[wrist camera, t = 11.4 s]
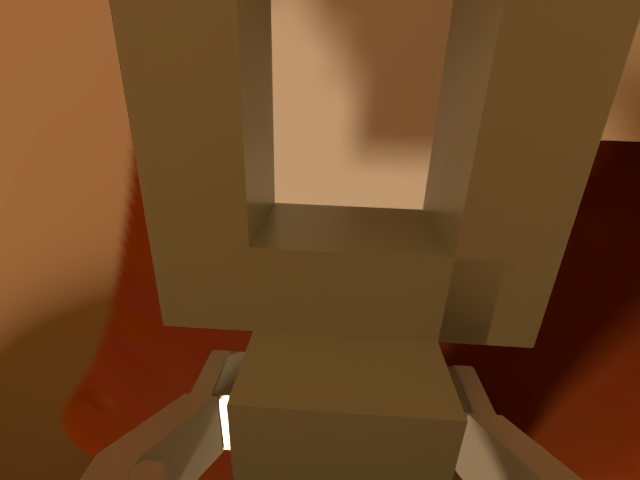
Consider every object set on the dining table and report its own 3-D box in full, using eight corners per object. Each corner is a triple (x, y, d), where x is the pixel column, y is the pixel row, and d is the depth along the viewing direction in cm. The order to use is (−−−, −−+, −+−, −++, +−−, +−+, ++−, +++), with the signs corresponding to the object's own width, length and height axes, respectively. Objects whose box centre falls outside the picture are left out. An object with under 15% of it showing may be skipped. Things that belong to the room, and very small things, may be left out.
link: (162, -208, 7) (-203, -804, 2) (596, -207, 7) (1196, -901, 2) (221, 391, 13) (154, 564, 8) (452, 407, 12) (517, 596, 8)
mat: (231, -35, 15) (229, -37, 14) (484, -29, 14) (486, -31, 14) (246, 239, 19) (244, 241, 19) (435, 249, 19) (436, 252, 19)
